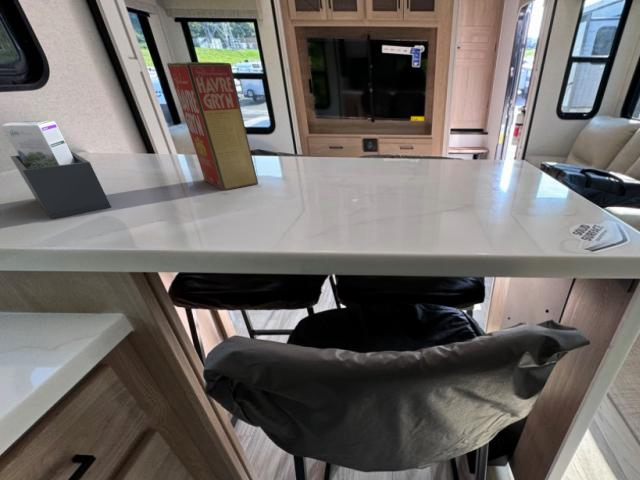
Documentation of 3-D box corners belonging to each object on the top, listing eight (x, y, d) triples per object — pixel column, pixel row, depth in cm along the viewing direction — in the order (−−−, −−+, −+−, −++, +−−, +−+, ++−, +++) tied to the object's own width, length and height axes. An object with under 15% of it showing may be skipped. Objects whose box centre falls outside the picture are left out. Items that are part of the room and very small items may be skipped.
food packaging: (201, 180, 87) (164, 61, 72) (237, 174, 92) (209, 63, 78) (222, 191, 79) (185, 61, 65) (260, 183, 84) (233, 62, 70)
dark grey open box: (36, 199, 72) (10, 156, 67) (90, 190, 78) (69, 149, 73) (51, 219, 63) (22, 170, 58) (111, 207, 69) (89, 162, 64)
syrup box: (93, 194, 73) (56, 119, 65) (79, 202, 68) (37, 123, 60) (62, 196, 72) (20, 120, 64) (46, 204, 67) (-2, 123, 59)
